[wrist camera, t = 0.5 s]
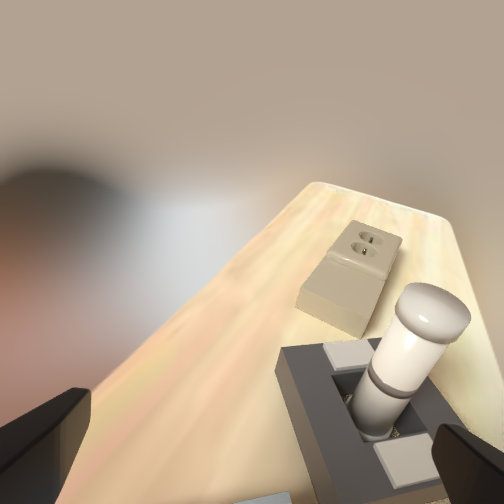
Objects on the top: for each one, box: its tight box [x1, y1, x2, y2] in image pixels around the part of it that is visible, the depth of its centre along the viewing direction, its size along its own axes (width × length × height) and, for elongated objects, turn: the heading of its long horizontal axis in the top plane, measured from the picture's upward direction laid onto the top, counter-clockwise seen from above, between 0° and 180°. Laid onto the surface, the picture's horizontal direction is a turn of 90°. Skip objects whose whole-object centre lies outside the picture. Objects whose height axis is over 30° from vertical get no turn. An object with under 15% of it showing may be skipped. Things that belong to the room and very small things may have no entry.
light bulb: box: [345, 283, 471, 443], centre depth 22 cm, size 4×4×12 cm
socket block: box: [275, 338, 468, 504], centre depth 25 cm, size 11×11×3 cm
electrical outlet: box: [295, 220, 402, 339], centre depth 40 cm, size 7×4×18 cm
